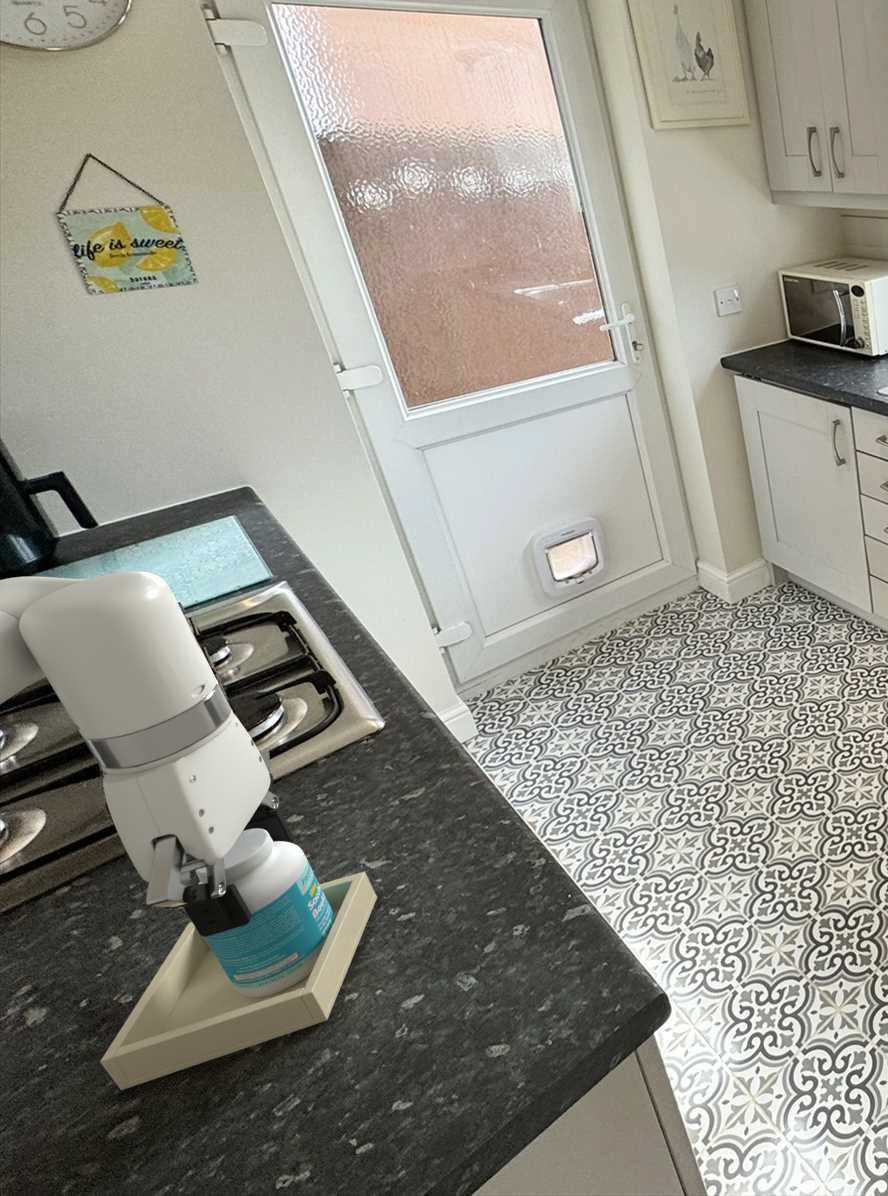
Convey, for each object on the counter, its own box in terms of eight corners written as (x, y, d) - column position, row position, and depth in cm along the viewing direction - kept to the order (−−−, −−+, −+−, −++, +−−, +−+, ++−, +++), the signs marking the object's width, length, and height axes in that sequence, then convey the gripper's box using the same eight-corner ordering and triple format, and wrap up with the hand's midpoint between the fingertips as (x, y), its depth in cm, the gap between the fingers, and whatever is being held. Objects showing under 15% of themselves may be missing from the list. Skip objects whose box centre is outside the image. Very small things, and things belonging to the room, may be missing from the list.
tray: (120, 1090, 62) (99, 1061, 60) (205, 949, 73) (188, 922, 71) (327, 1020, 66) (311, 992, 65) (377, 897, 77) (365, 870, 76)
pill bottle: (357, 946, 72) (303, 837, 67) (254, 1019, 66) (186, 905, 61) (324, 908, 75) (271, 802, 70) (224, 974, 70) (158, 864, 65)
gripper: (165, 672, 67) (246, 826, 74) (15, 823, 52) (134, 999, 59) (272, 650, 70) (342, 800, 76) (158, 788, 54) (258, 961, 61)
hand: (251, 886), depth 67 cm, fingers closed on pill bottle, 7 cm apart
